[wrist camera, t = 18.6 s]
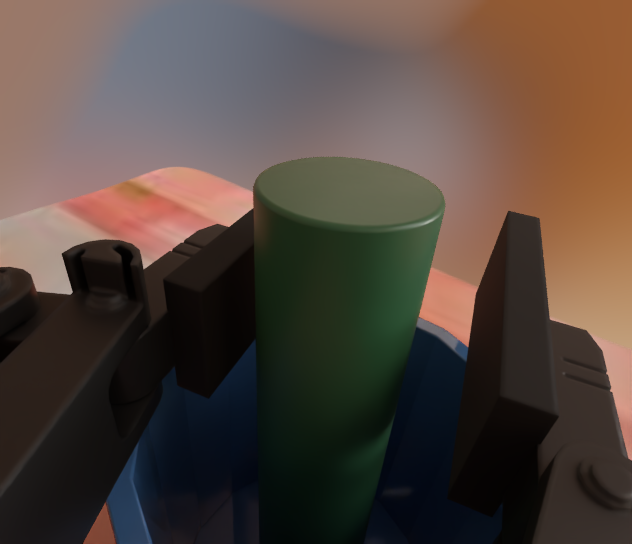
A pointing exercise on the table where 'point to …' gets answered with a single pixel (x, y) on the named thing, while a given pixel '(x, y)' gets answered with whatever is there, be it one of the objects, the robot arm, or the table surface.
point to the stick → (333, 335)
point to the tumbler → (242, 461)
